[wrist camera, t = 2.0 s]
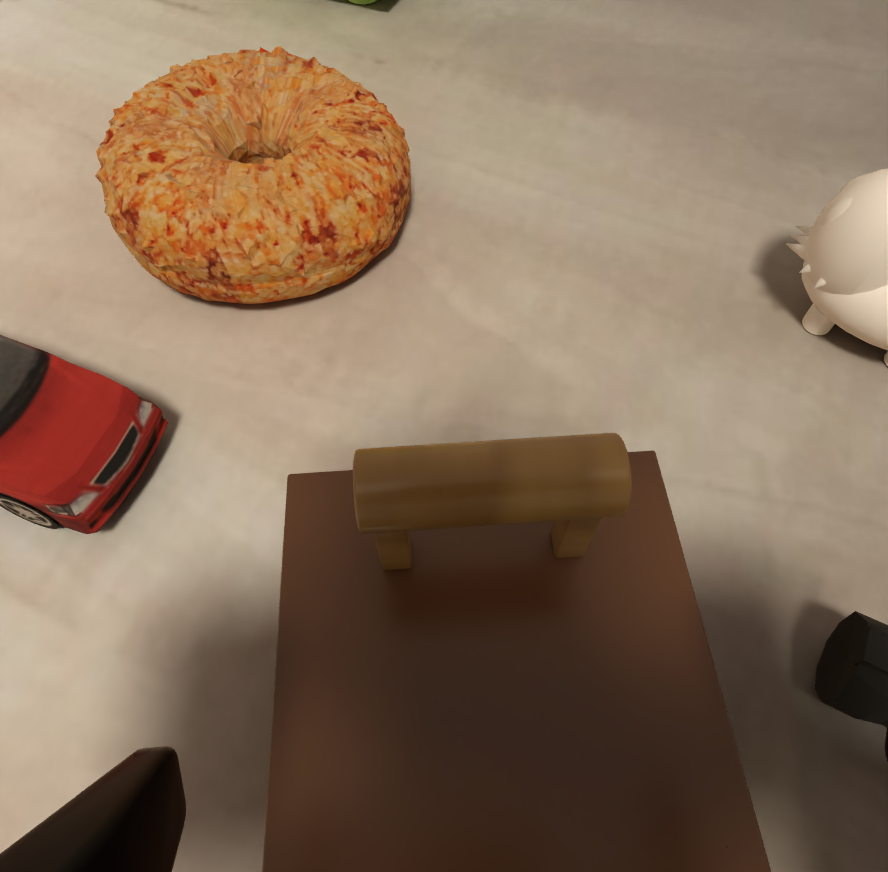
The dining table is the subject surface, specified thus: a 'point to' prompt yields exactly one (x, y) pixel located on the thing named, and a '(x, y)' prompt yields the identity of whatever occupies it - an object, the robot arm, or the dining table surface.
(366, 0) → the teapot
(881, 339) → the toy creature
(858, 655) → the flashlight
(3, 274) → the dining table surface
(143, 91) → the bagel
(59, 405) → the toy car
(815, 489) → the dining table surface
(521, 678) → the lid
